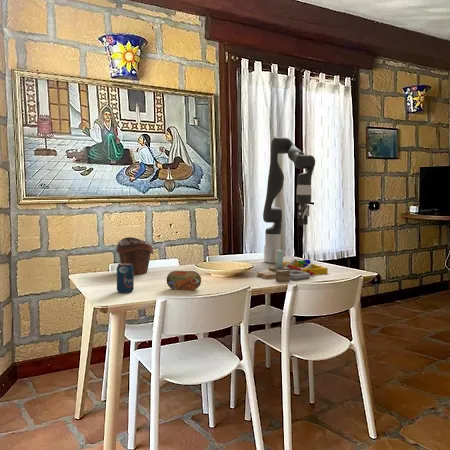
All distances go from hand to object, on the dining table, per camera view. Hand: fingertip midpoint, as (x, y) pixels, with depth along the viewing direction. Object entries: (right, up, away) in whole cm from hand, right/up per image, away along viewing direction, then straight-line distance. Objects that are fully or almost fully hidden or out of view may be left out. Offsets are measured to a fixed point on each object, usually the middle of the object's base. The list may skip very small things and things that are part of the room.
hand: (303, 225), depth 237 cm
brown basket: (-87, -25, 0) cm, 91 cm away
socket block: (-12, -25, +2) cm, 28 cm away
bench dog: (-13, -27, -18) cm, 35 cm away
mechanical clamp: (+5, -26, +12) cm, 29 cm away
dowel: (-12, -25, +2) cm, 28 cm away
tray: (-5, -26, -9) cm, 28 cm away
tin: (-58, -28, -39) cm, 76 cm away
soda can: (-83, -28, -45) cm, 98 cm away
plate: (-19, -27, -8) cm, 33 cm away
